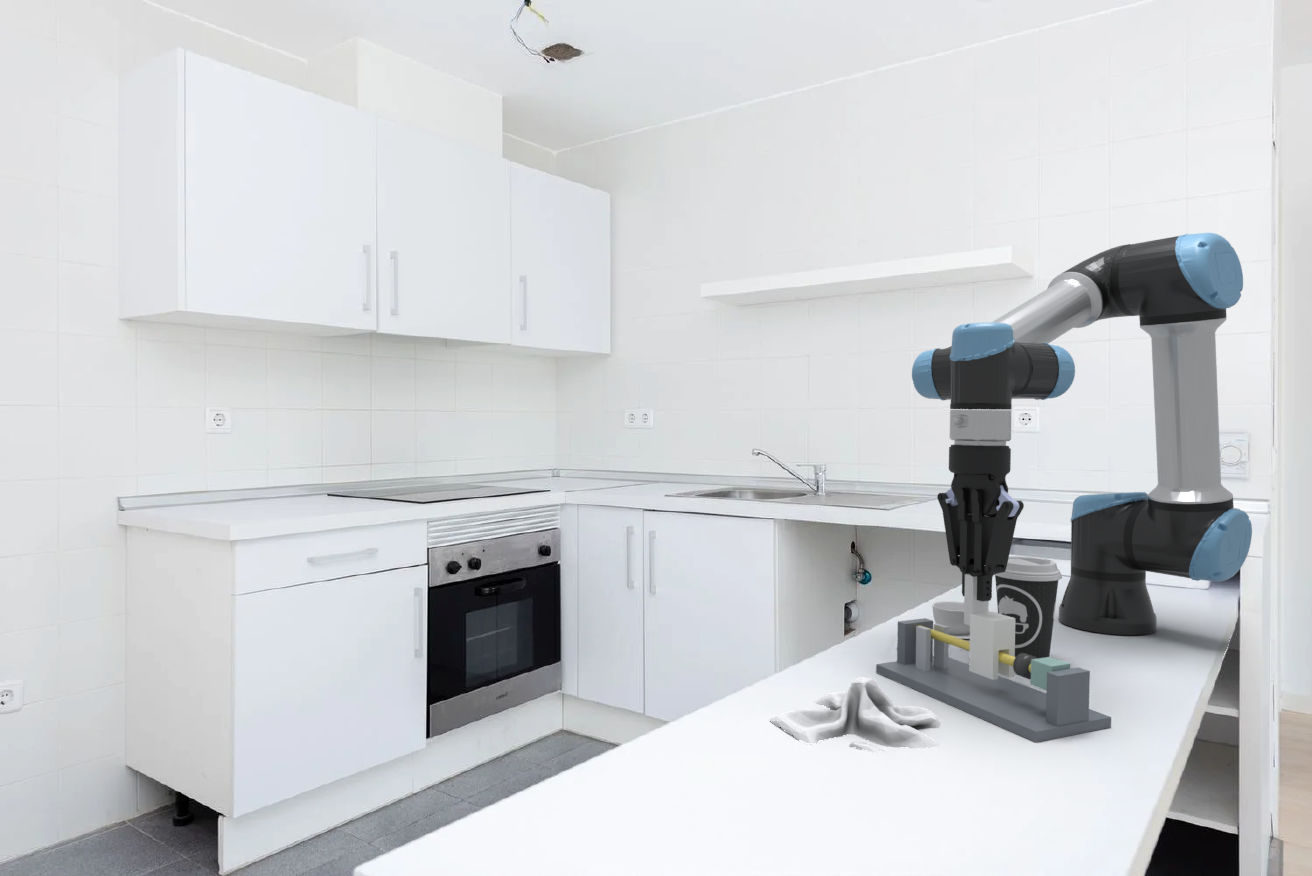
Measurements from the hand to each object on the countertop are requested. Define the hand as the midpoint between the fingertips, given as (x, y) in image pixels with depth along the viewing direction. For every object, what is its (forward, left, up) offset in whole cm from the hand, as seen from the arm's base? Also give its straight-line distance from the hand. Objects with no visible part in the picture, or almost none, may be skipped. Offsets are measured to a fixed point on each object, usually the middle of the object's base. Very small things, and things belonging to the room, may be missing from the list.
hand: (976, 623), depth 113 cm
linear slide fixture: (0, +1, -9) cm, 9 cm away
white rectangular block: (0, +3, -6) cm, 6 cm away
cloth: (+20, +4, -10) cm, 23 cm away
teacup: (-21, -26, -10) cm, 34 cm away
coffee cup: (-18, -9, -10) cm, 22 cm away
